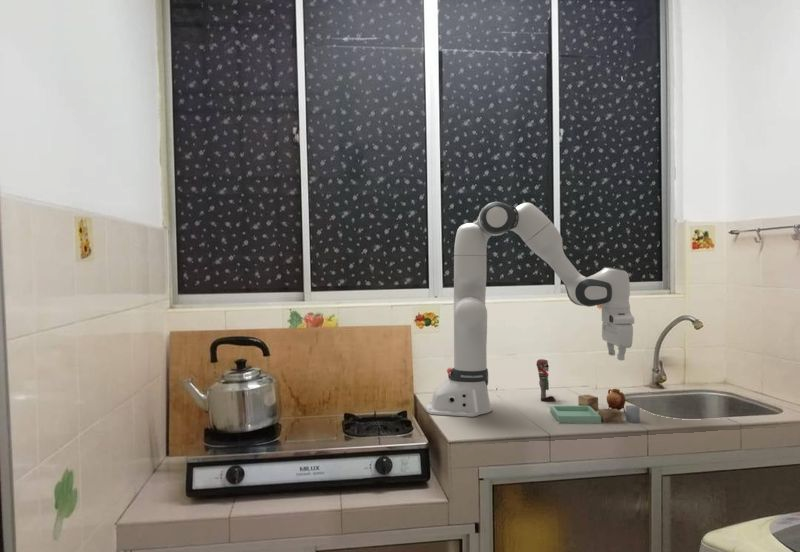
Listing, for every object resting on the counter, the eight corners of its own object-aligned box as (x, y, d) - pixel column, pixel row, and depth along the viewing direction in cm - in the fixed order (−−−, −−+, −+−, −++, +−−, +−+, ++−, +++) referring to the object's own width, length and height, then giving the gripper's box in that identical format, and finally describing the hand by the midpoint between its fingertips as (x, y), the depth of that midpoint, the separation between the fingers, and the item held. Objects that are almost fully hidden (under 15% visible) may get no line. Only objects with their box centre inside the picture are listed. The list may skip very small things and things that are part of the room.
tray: (558, 422, 170) (558, 416, 170) (550, 411, 183) (550, 405, 183) (601, 423, 169) (601, 416, 169) (589, 411, 182) (589, 405, 182)
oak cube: (587, 411, 182) (587, 398, 182) (578, 408, 186) (578, 395, 186) (598, 410, 184) (598, 397, 184) (589, 407, 188) (589, 394, 188)
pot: (625, 417, 177) (625, 410, 183) (625, 393, 176) (625, 387, 182) (606, 415, 179) (607, 408, 185) (606, 392, 178) (606, 386, 184)
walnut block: (604, 423, 169) (603, 412, 169) (598, 420, 173) (598, 409, 173) (622, 423, 169) (622, 412, 169) (616, 419, 173) (616, 408, 173)
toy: (556, 406, 189) (556, 364, 188) (537, 406, 190) (537, 363, 190) (552, 394, 206) (552, 355, 206) (535, 394, 207) (535, 355, 207)
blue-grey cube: (628, 423, 169) (628, 408, 168) (624, 419, 173) (624, 405, 172) (641, 423, 168) (641, 408, 168) (637, 419, 172) (637, 405, 172)
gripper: (597, 313, 191) (597, 352, 191) (615, 319, 170) (616, 363, 170) (615, 313, 190) (615, 352, 190) (636, 318, 170) (636, 362, 170)
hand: (616, 357), depth 180 cm, fingers open, 8 cm apart
